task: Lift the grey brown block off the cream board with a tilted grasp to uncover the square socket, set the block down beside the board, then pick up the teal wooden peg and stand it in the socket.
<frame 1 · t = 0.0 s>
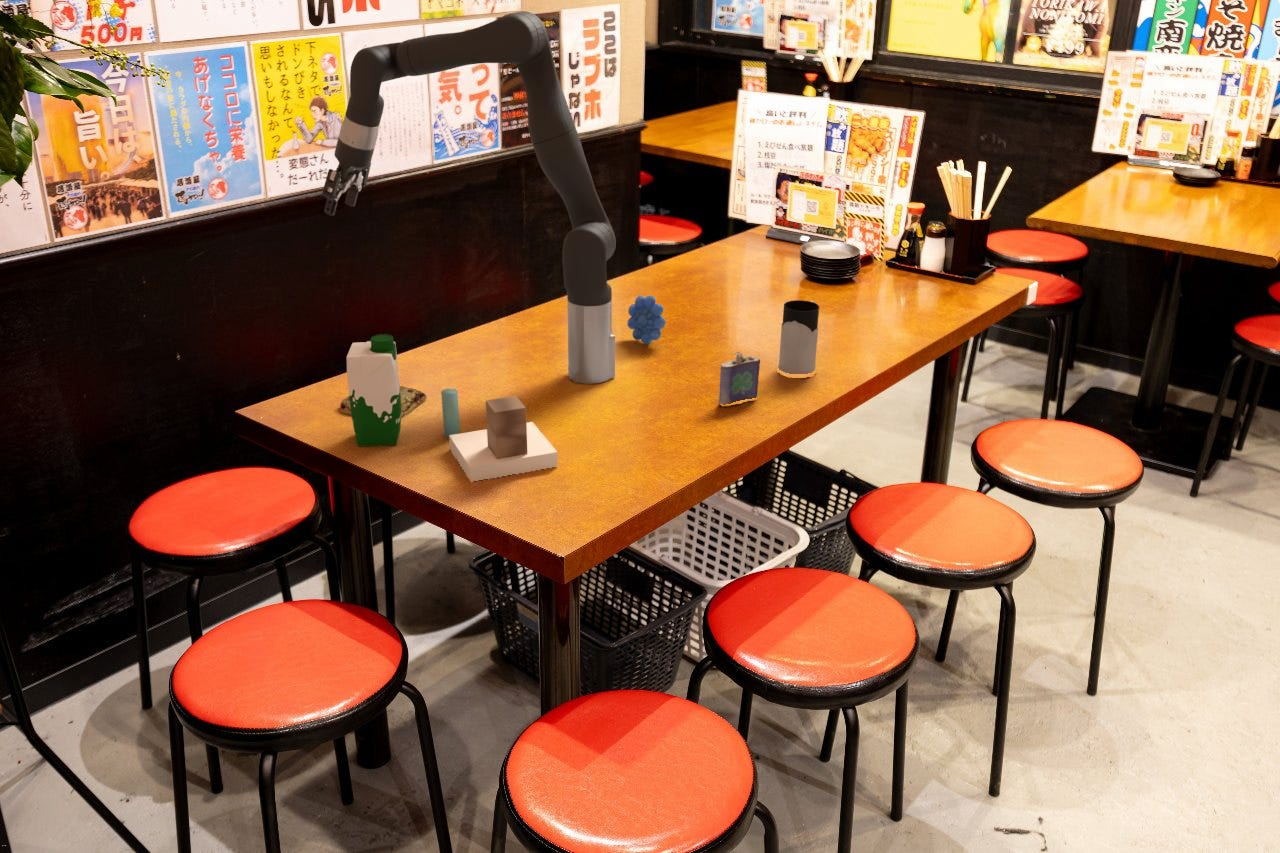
hand: (339, 209, 242), 31 cm above the table, tool tilted 20°, fingers open, 8 cm apart
glass holder: (800, 367, 247), on the table
pastry: (383, 408, 225), on the table
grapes: (648, 343, 259), on the table
peg: (452, 435, 213), on the table
flask: (737, 403, 229), on the table
grey brown block: (507, 450, 200), point 3 cm above the table, touching layout board
layout board: (503, 458, 204), on the table
milk carton: (379, 439, 211), on the table
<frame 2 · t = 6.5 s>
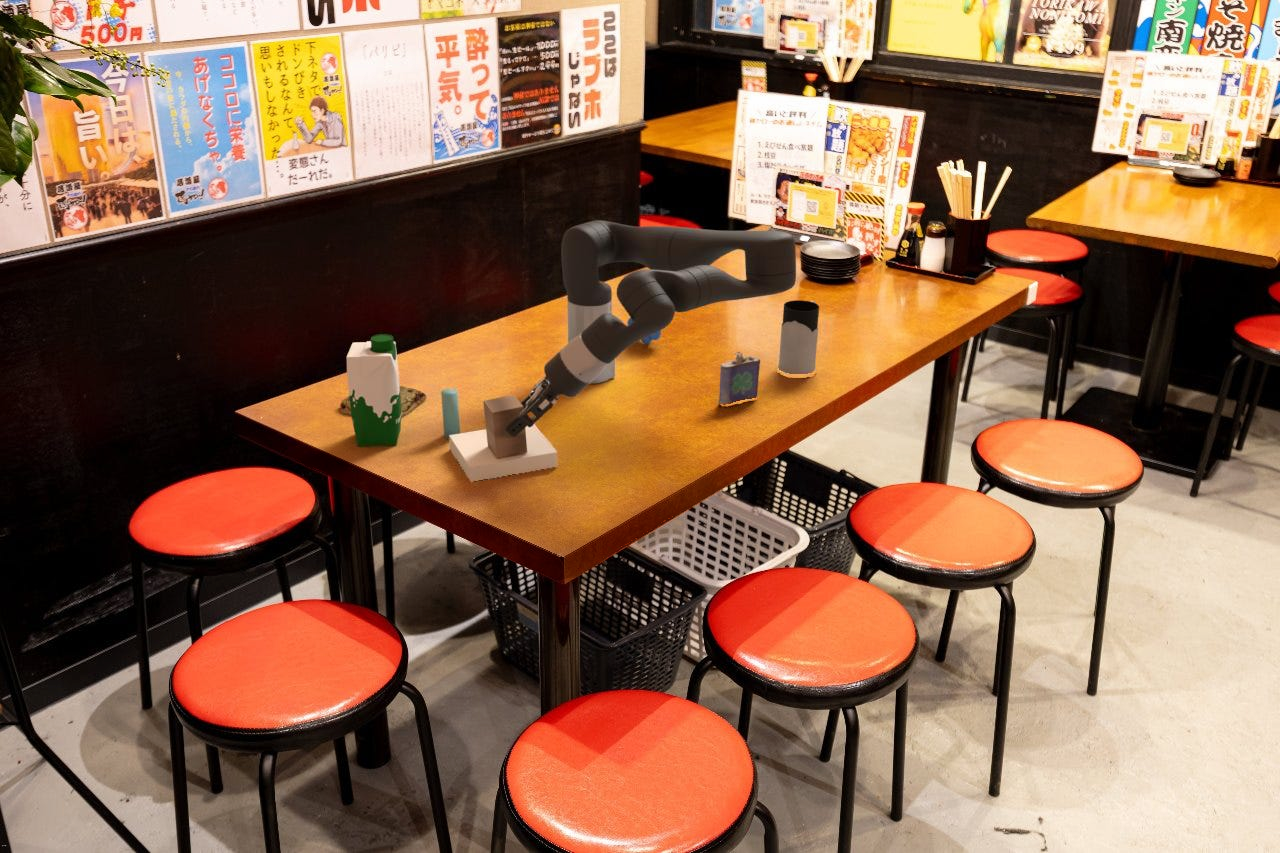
hand: (514, 422, 197), 9 cm above the table, tool tilted 45°, fingers open, 8 cm apart
grey brown block: (507, 449, 200), point 3 cm above the table, touching gripper, layout board
everything else where it was.
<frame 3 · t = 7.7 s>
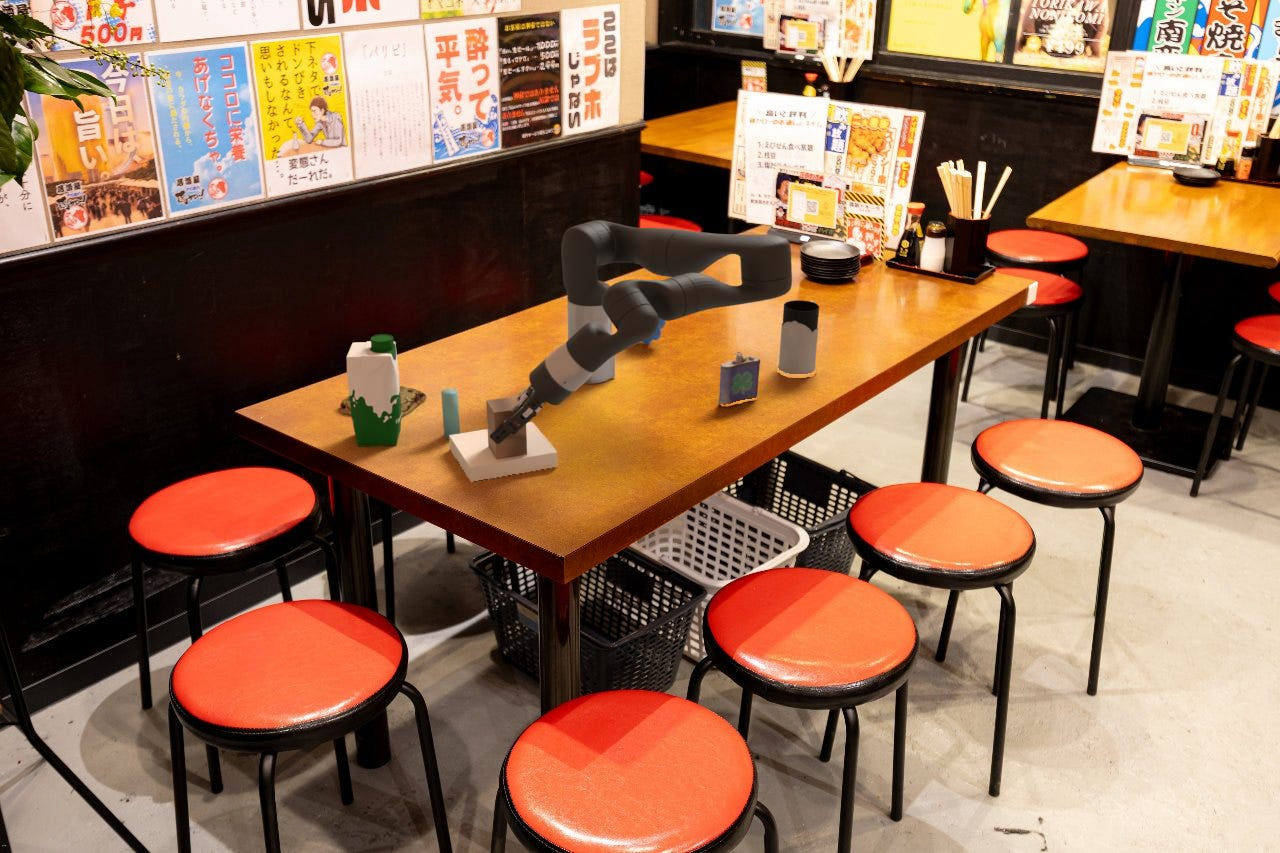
hand: (499, 430, 199), 7 cm above the table, tool tilted 45°, fingers closed on grey brown block, 7 cm apart
grey brown block: (507, 450, 200), point 3 cm above the table, touching gripper, layout board
everything else where it was.
when the fingers open (5 cm above the table, at t = 13.4 s): grey brown block drops 1 cm, on the table.
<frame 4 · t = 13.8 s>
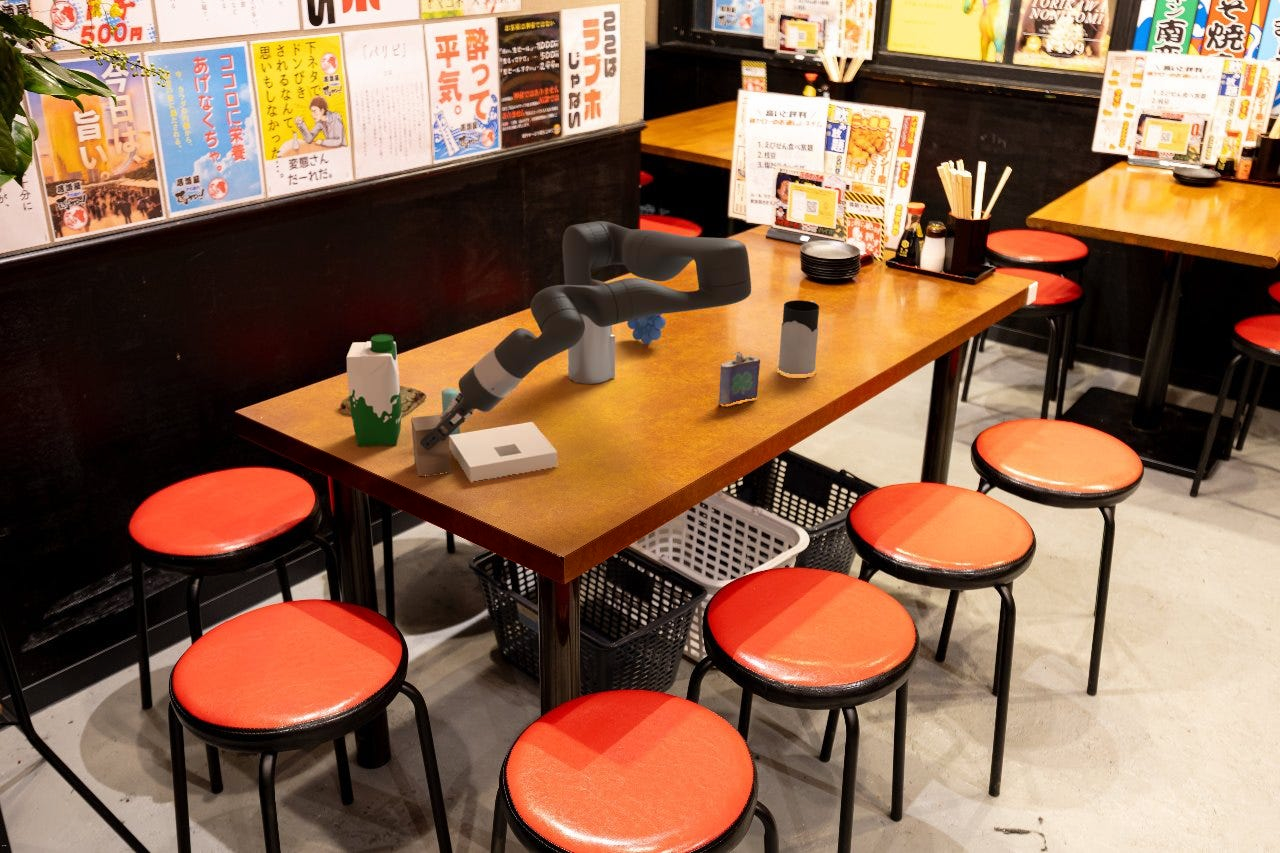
hand: (431, 435, 197), 6 cm above the table, tool tilted 45°, fingers open, 8 cm apart
grey brown block: (432, 468, 200), on the table, touching gripper
everything else where it was.
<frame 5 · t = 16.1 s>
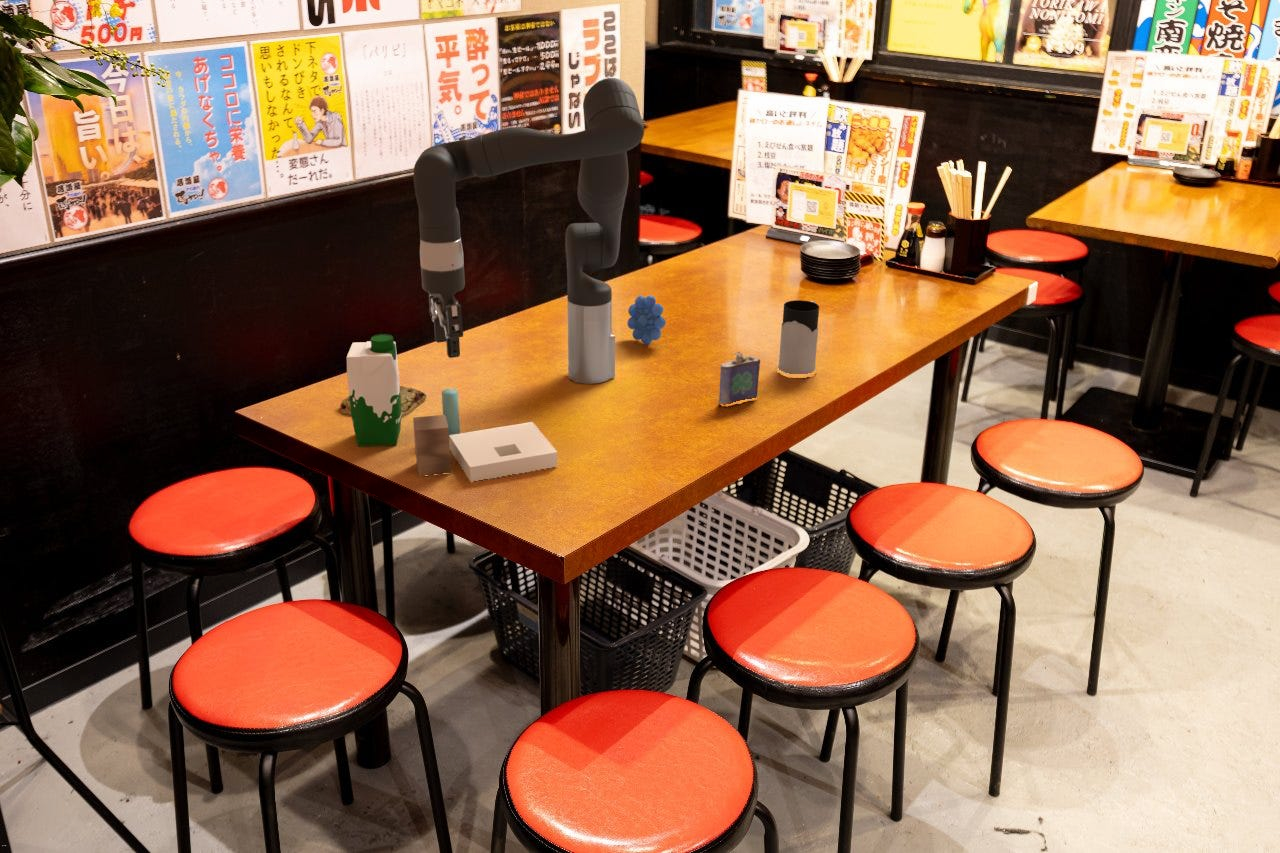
hand: (447, 349, 205), 18 cm above the table, tool pointing down, fingers open, 8 cm apart
grey brown block: (433, 468, 200), on the table
everything else where it was.
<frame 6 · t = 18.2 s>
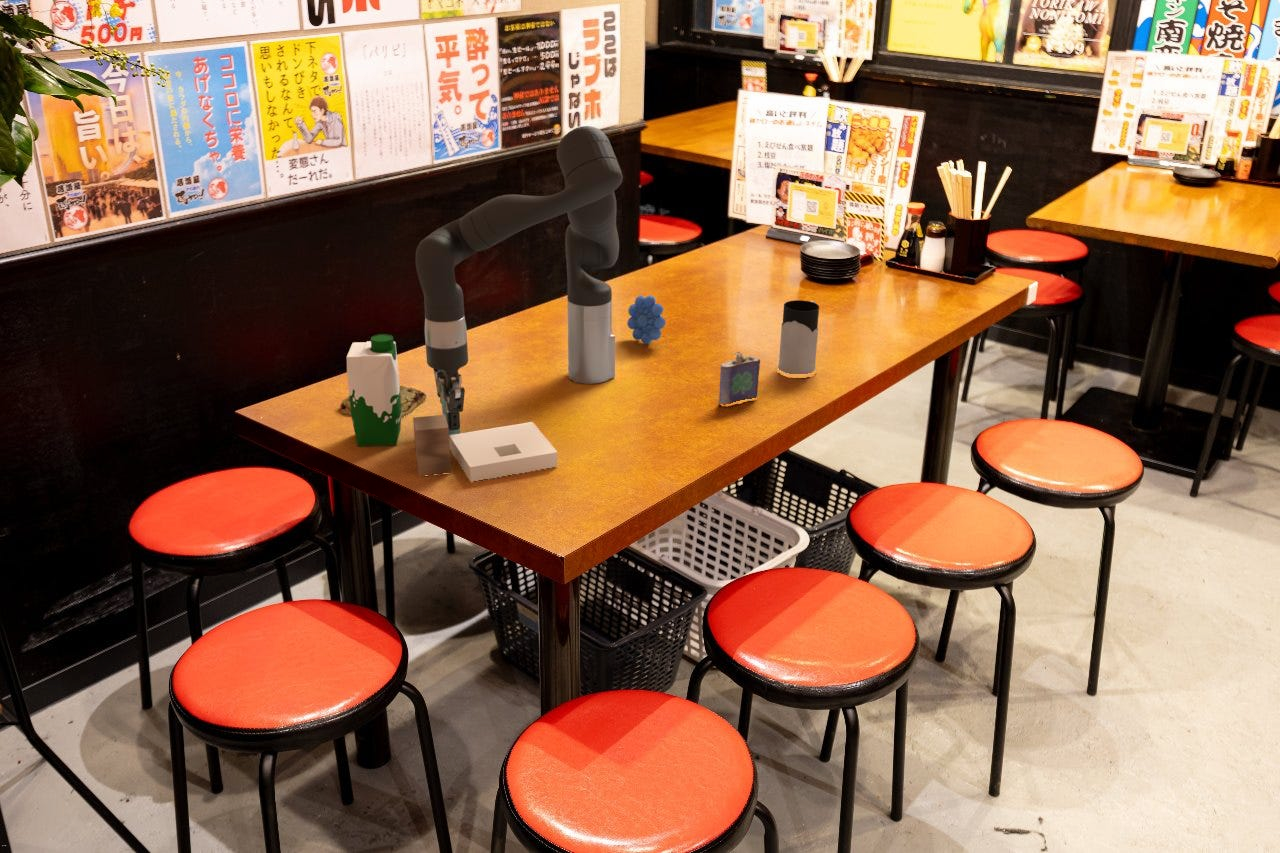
hand: (451, 425, 212), 2 cm above the table, tool pointing down, fingers closed on peg, 3 cm apart
peg: (452, 435, 213), on the table, touching gripper
everything else where it was.
when the fingers open (5 cm above the table, at t = 23.1 s): peg drops 3 cm, resting on layout board.
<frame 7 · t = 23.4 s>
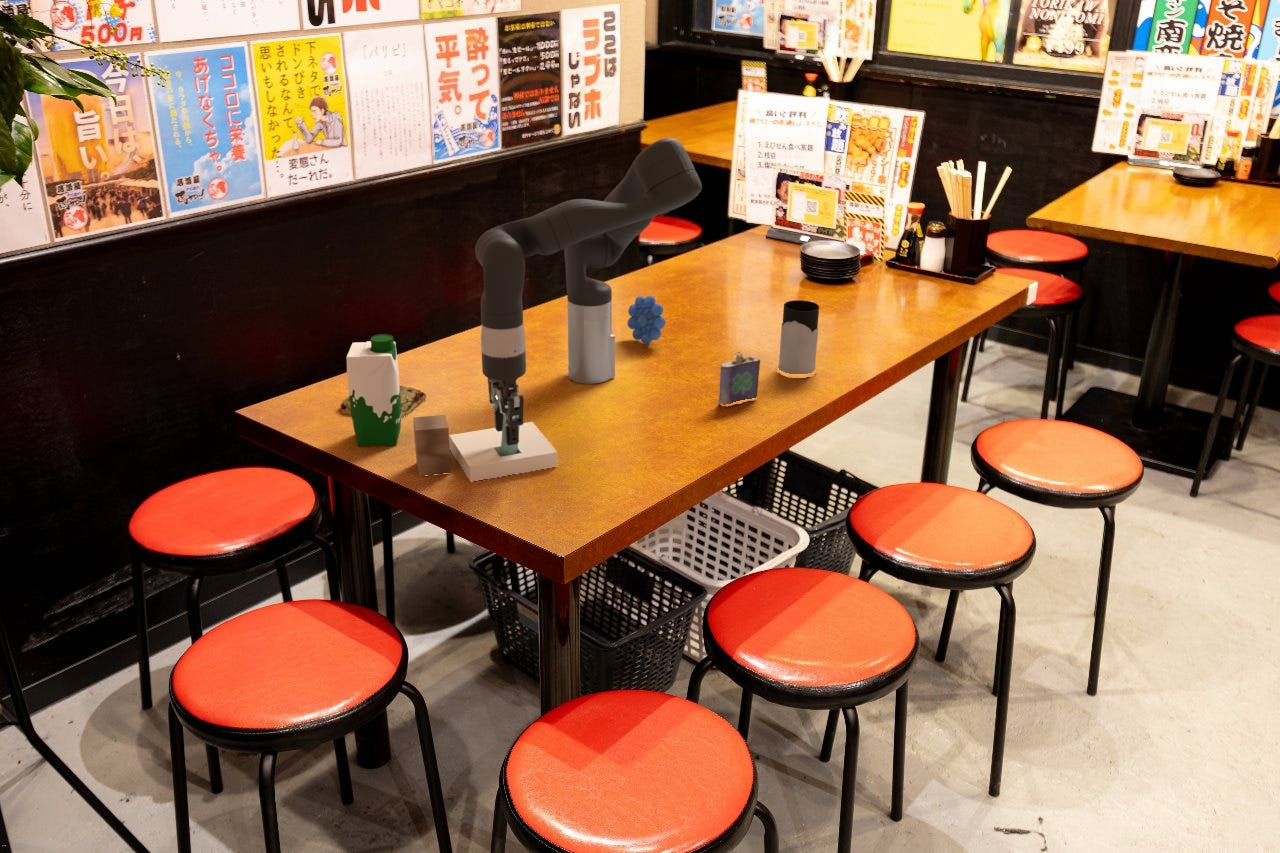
hand: (506, 436, 199), 6 cm above the table, tool pointing down, fingers open, 5 cm apart
peg: (507, 463, 201), resting on layout board, tilted 7°
everything else where it was.
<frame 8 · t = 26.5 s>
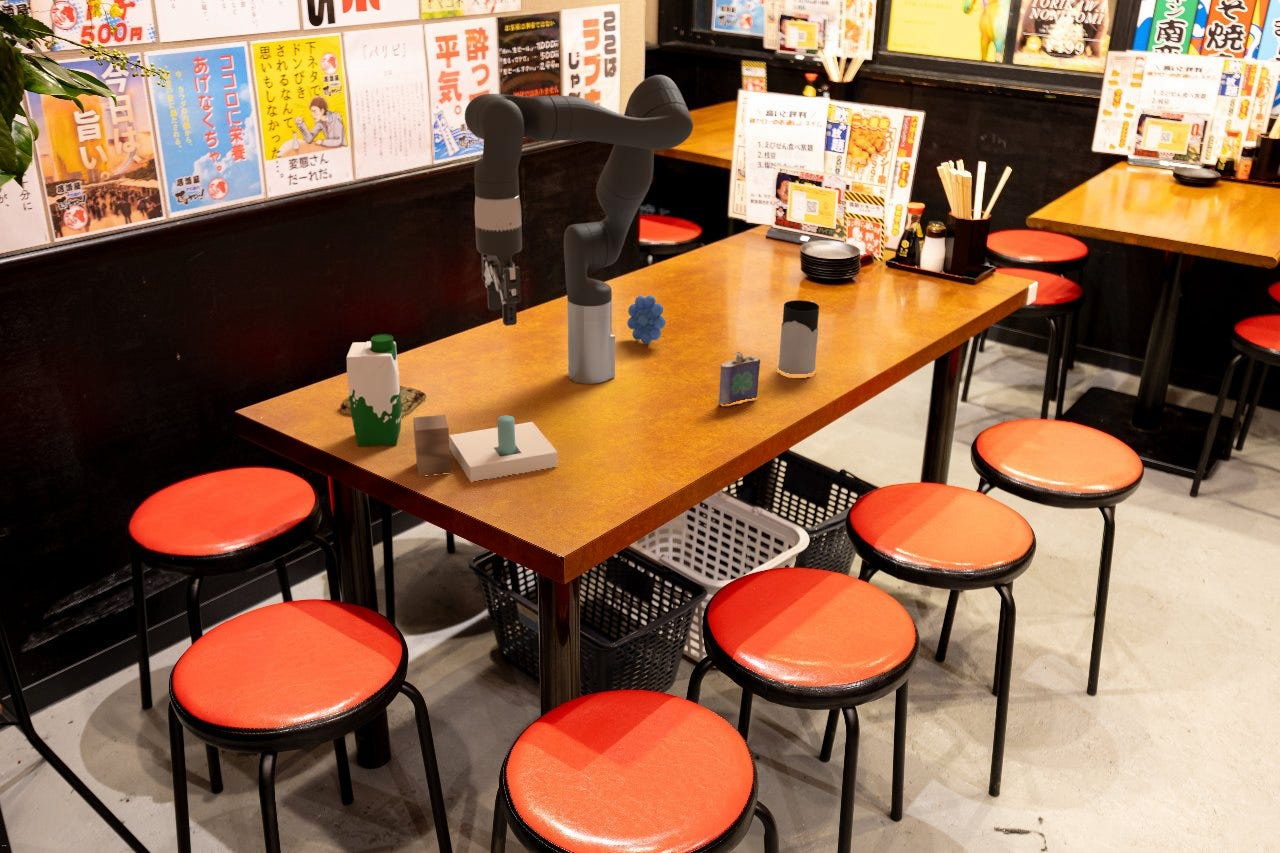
hand: (502, 316, 190), 28 cm above the table, tool pointing down, fingers open, 8 cm apart
peg: (507, 464, 201), resting on layout board
everything else where it was.
at the end: peg 0.1 cm from the target spot on the layout board, point 0.2 cm above the layout board's base; peg tilted 2°; grey brown block moved 13.5 cm from its start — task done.
